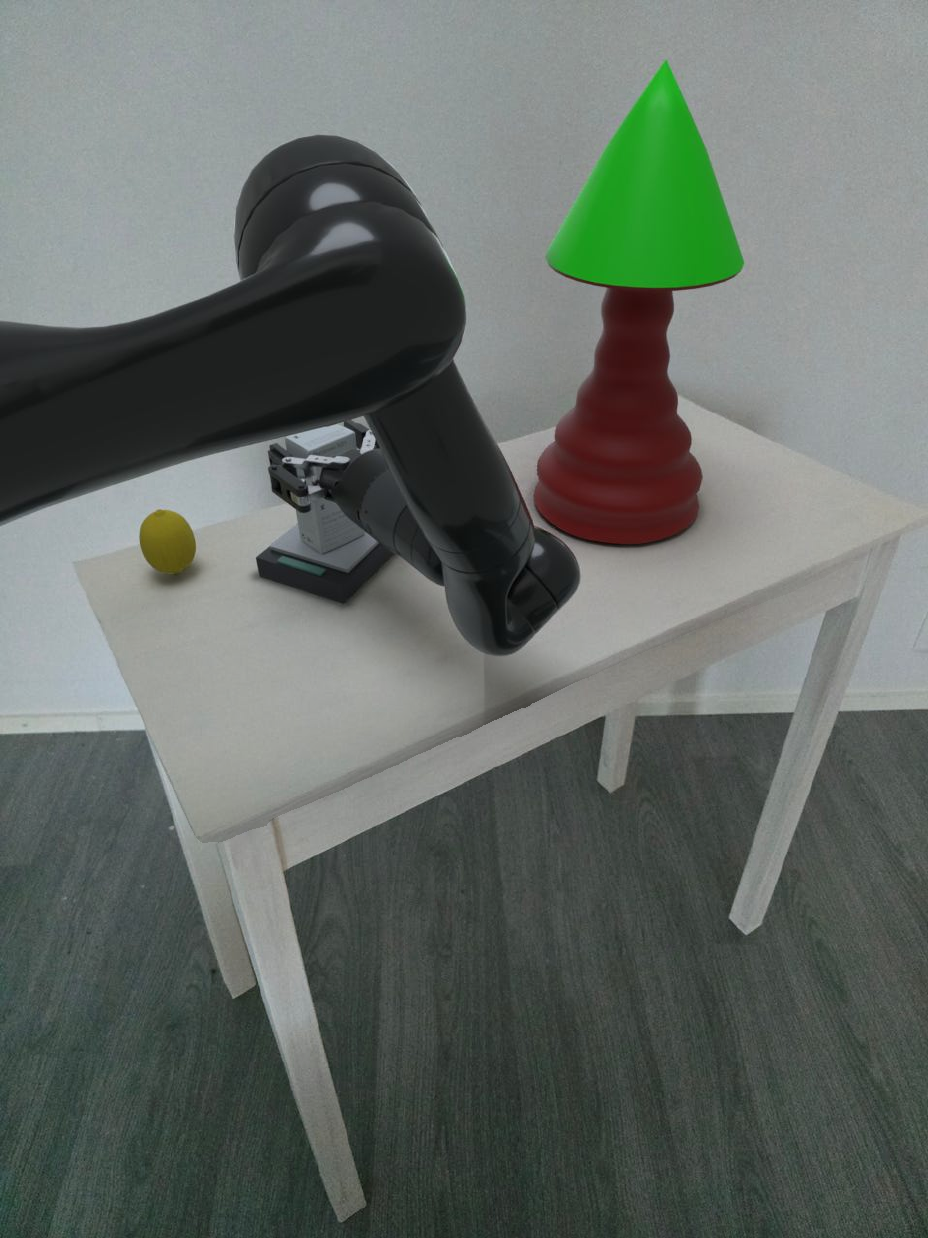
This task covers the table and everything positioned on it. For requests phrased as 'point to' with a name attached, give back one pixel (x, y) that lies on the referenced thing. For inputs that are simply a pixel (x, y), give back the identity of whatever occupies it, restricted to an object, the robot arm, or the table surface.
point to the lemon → (167, 541)
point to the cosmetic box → (326, 518)
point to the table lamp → (636, 325)
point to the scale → (322, 565)
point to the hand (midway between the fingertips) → (311, 440)
